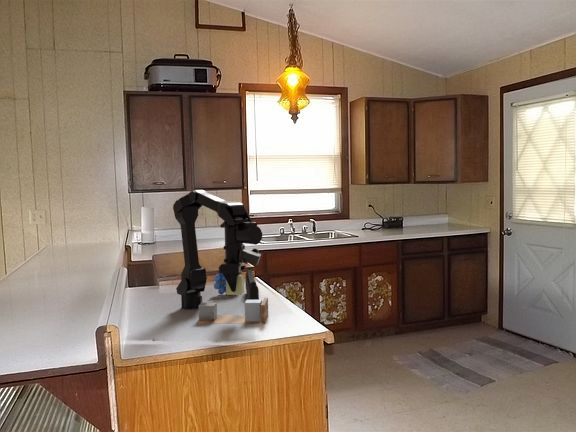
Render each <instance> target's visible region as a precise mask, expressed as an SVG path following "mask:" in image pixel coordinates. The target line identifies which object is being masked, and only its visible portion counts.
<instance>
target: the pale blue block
mask: <svg viewBox="0 0 576 432" xmlns="http://www.w3.org/2000/svg"><path fill="white" fill-rule="evenodd" d="M262 301H263V300H262V299H259V300H248V299H246V300H245V301H244V315H245V321H261V303H262Z"/></svg>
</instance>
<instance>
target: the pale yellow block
mask: <svg viewBox="0 0 576 432" xmlns="http://www.w3.org/2000/svg"><path fill="white" fill-rule="evenodd" d="M244 277H245V275H244V273H241V274H239V275H238V278H237V285H236V291H235V292H232V291H231V289H230V287H229V284H228V282H227V280H226V293H225V295H226V296H227V295H231V296H235V295H236V296H243V294H244V292H245V278H244Z"/></svg>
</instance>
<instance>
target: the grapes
mask: <svg viewBox="0 0 576 432" xmlns="http://www.w3.org/2000/svg"><path fill="white" fill-rule="evenodd" d="M213 279H214V282H215V283H214V284H213V288H214V289H215V290H217V292H218V295H224V293H225V294H226V279H225V277H224V275H223V274H222V273H217V274H215V276H214V278H213Z"/></svg>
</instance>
